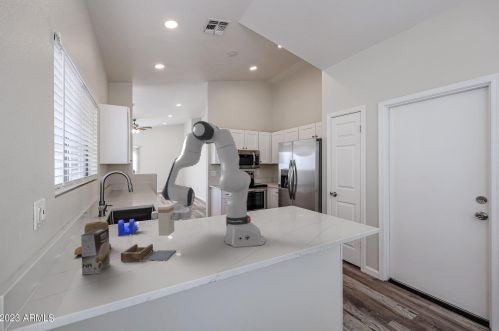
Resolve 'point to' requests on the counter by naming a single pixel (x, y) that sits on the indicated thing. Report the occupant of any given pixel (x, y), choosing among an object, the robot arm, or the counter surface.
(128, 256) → the holder
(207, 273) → the counter surface
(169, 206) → the striped white pillar
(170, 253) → the mat
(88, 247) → the coffee box
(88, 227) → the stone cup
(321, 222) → the counter surface
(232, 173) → the robot arm
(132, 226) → the bracket
